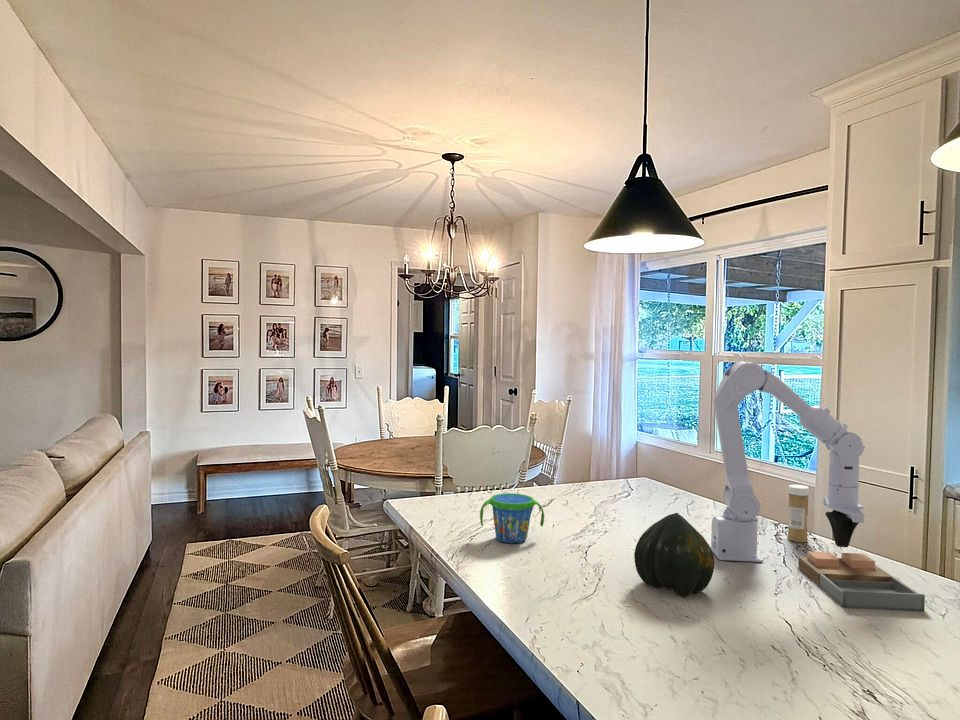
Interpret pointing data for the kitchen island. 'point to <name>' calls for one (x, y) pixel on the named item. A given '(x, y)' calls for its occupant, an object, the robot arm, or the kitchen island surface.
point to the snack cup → (511, 516)
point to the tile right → (858, 560)
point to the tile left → (823, 559)
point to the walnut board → (842, 572)
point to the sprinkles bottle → (798, 513)
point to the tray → (873, 594)
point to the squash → (674, 556)
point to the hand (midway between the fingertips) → (841, 546)
